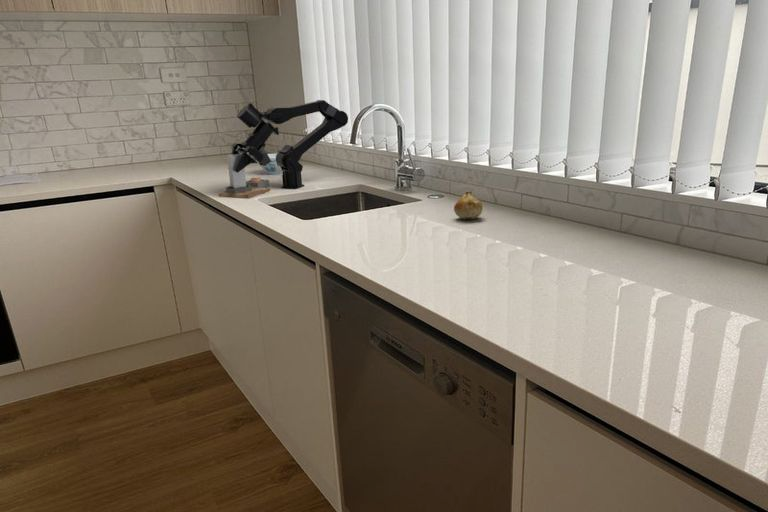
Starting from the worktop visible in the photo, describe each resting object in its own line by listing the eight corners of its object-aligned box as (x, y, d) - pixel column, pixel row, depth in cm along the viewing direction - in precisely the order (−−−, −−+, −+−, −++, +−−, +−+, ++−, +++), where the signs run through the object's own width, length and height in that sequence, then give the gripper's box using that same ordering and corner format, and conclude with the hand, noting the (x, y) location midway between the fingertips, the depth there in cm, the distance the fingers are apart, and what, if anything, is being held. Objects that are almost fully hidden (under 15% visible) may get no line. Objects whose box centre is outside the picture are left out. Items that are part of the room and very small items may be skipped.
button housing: (269, 186, 221) (268, 179, 220) (258, 189, 215) (257, 182, 214) (254, 185, 224) (254, 179, 223) (243, 188, 218) (242, 182, 217)
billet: (242, 189, 209) (239, 153, 205) (246, 191, 206) (242, 154, 202) (231, 191, 207) (226, 154, 203) (234, 192, 203) (230, 156, 200)
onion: (448, 218, 162) (448, 190, 160) (472, 214, 165) (473, 187, 163) (462, 223, 155) (462, 194, 153) (487, 220, 158) (488, 191, 156)
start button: (263, 183, 220) (263, 177, 219) (257, 185, 216) (256, 179, 216) (255, 183, 222) (254, 177, 221) (248, 185, 218) (248, 178, 217)
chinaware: (276, 169, 261) (274, 152, 259) (299, 172, 253) (298, 154, 251) (251, 174, 250) (249, 157, 248) (275, 177, 241) (273, 158, 239)
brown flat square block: (270, 191, 210) (269, 184, 209) (248, 198, 199) (247, 190, 198) (242, 189, 216) (241, 182, 215) (219, 196, 204) (218, 188, 204)
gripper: (285, 153, 203) (258, 188, 200) (266, 148, 218) (241, 181, 216) (262, 132, 196) (234, 168, 194) (244, 129, 211) (218, 162, 209)
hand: (232, 170), depth 203 cm, fingers open, 7 cm apart
